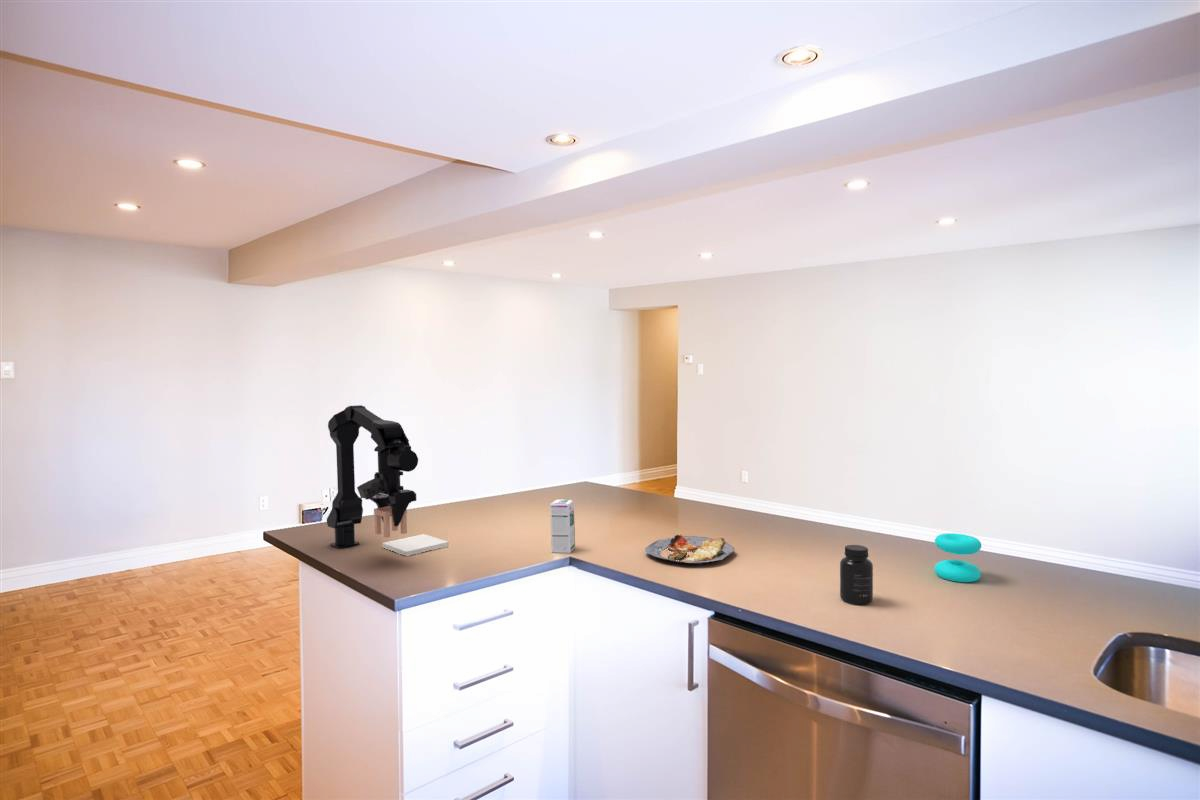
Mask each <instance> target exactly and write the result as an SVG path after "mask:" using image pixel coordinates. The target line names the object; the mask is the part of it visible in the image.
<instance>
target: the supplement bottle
mask: <svg viewBox="0 0 1200 800" xmlns="http://www.w3.org/2000/svg"><path fill="white" fill-rule="evenodd" d="M873 591H874V565H873V561H871V559H869V548H868V547H866V546H864V545H861V544H847V545H846V546H844V556H843V558H841V559H840V563H839V595H840V599H841V600H842V601H843V602H844V603H846V602H847V603H846V604H849V605H855V606H867V605H870V604H871V603H872V602H873V599H874V597H873V596H874V592H873Z"/></svg>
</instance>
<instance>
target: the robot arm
mask: <svg viewBox="0 0 1200 800" xmlns="http://www.w3.org/2000/svg"><path fill="white" fill-rule="evenodd" d="M402 426H403V425H401V424H400V423H399V422H398V421H393V420H388V419H383V418H381V417H380V416H377V415H376V414H374V413H373V412H371V411H370V410H368V409H367V408H366V406H365V405H362V404H361V405H348V406H347V407H345V408H344V409H343V410H341V411H340V412H337V413H335V414H334V415H333V416H332V417H331V418H330V419H329V420H328V422H327V428H328V431H329V437H330V439H331V440H332V441H333V442H334V444H335V446H336V449H335V450H336V474H337V478H336V480H337V493H336V495H335V496H334V499H332V502H331V503H332V504H331V505H332V506H331V510H330V512H329V514H328V516H327V518H326V525H327V527H329V528H332V529H334V542H330V546H332V547H335V548H337V549H343V548H347V547H352V546H356V545H360V543H361V542H360V541H356V535H355V534H356V532H355V528H356V527H355V525H356V524H361V523H362V518H363V513H364V509H363V499H365V500H370V501H372V502H373V503H374V504H376V506H377V508H381V507H387V506H390V507H391V509H392V515H393V522H394V526H398V527H399V526H400V525H401V523H400V521H401V519H402V517H403V515H404V513H405V510H406V509H408V507H409V505H410V504H411V503H412V502H417V493H416V492H415V491H414V490H410V489H404V486H403V485H401V476H404V472H408V473H409V472H412V471H414V470H415V469H416V468H417V466H418V463H419V457H418V455H417V453H416V452H415V451H414V450H412V446H411V445H410V443H409V442H410V440H409V438H408V437H407V435H406V433H405V430H404V428H403V427H402ZM360 428H363V429H365V430H366V431H367V432H369V433H370V439H371V440H372V441H373V442H374V443H375V444H376V445H377V446H376V447H374V450H373V451H374V452H377V471H376V472H374V475H373V477H374V478H373V479H372V478H371V479H370V480H368V481H366V482H364V483H362V484H360V485H358V486H357V488H356V485H355V484H356V479H355V451H354V447H355V445H354V444H355V442H356V441H357V440H358V437H359V434H360ZM356 489H357V491H358V494H359V495H358V494H357V493H356V492H357V491H356ZM381 522H383V517H382V516H381Z"/></svg>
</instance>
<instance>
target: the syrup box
mask: <svg viewBox="0 0 1200 800" xmlns="http://www.w3.org/2000/svg"><path fill="white" fill-rule="evenodd" d="M574 502H575V501H574V500H573V499H566V498H564V499H555V500H554V501H552V502H551V503H550V504H549V508H550V509H549V510H550V535H551V536H550V537H551V539H550V540H551V543H550V544H551V553H556V554H571V553H572V552H573V551H574V549H576V532H575V531H576V530H575V529H576V528H575V503H574Z"/></svg>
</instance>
